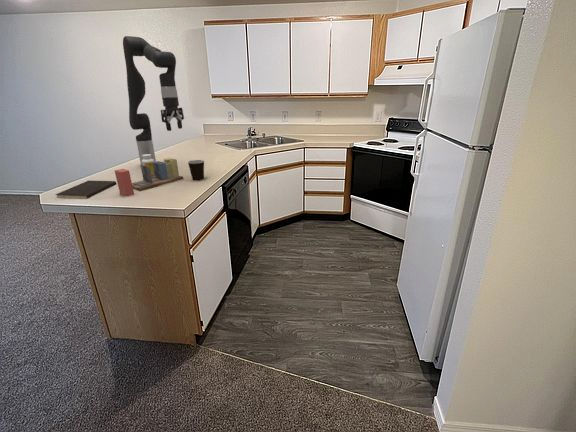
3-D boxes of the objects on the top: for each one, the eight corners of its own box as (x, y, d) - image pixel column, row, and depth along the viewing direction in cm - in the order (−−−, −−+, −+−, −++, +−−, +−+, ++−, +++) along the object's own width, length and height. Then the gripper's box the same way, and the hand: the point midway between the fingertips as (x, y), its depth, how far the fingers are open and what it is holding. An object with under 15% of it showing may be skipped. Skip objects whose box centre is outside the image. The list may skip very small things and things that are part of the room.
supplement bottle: (159, 176, 181) (155, 154, 176) (149, 178, 176) (145, 156, 171) (152, 174, 184) (148, 153, 179) (142, 177, 179) (137, 155, 174)
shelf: (127, 186, 162) (123, 166, 158) (170, 175, 181) (167, 157, 177) (139, 191, 156) (135, 170, 151) (183, 179, 175) (180, 160, 170)
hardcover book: (56, 198, 148) (55, 194, 147) (89, 184, 169) (88, 180, 168) (87, 199, 146) (86, 195, 146) (117, 185, 167) (116, 181, 167)
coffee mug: (201, 181, 170) (199, 163, 166) (187, 180, 172) (185, 163, 168) (210, 175, 181) (208, 159, 177) (197, 175, 182) (195, 158, 178)
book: (120, 194, 152) (114, 170, 147) (128, 191, 155) (122, 168, 150) (126, 196, 149) (120, 172, 144) (134, 194, 152) (129, 170, 147)
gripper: (173, 95, 162) (177, 127, 168) (153, 97, 149) (159, 131, 156) (185, 95, 159) (189, 128, 166) (166, 97, 147) (171, 131, 153)
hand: (174, 129), depth 161 cm, fingers open, 8 cm apart
